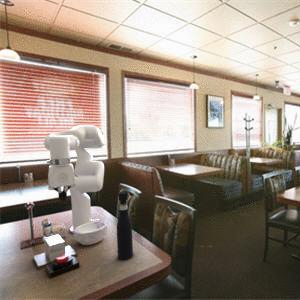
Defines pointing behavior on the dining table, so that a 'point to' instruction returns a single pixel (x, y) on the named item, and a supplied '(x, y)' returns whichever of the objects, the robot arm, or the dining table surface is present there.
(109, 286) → the dining table surface
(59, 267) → the control block
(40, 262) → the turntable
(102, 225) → the white round bowl
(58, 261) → the button
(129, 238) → the wine bottle
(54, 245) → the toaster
